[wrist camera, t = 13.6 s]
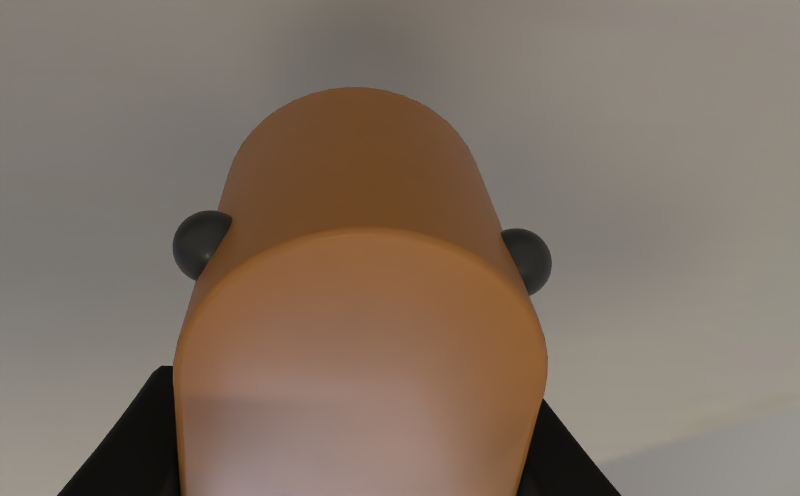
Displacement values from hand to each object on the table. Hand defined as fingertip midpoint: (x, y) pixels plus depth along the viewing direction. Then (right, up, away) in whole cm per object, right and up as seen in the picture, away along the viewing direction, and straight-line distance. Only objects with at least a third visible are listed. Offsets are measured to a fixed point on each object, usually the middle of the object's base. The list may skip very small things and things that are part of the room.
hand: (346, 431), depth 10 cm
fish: (0, +1, +1) cm, 2 cm away
